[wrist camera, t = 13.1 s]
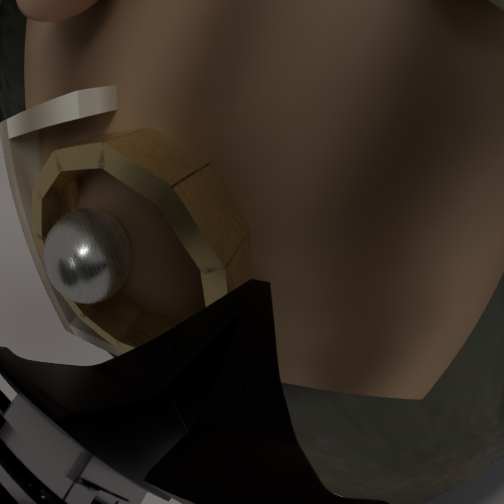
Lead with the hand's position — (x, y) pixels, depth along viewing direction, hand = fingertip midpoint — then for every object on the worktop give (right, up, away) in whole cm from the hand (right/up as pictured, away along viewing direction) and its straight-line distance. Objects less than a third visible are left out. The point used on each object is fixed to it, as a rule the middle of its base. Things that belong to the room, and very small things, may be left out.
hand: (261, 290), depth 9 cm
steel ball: (-7, +1, +1) cm, 7 cm away
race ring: (-5, +2, +3) cm, 6 cm away
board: (-1, +5, +1) cm, 5 cm away
